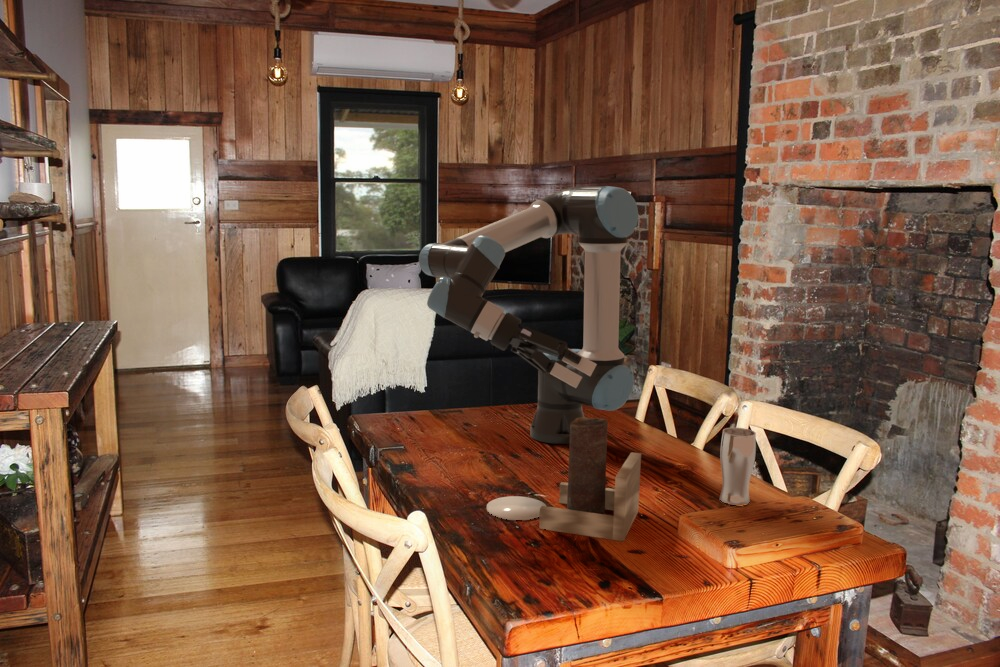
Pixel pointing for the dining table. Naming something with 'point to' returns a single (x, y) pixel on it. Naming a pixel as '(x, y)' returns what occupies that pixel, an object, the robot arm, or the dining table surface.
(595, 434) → the candle
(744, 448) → the beer glass
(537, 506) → the coaster
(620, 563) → the dining table surface
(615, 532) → the shelf
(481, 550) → the dining table surface
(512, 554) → the dining table surface
